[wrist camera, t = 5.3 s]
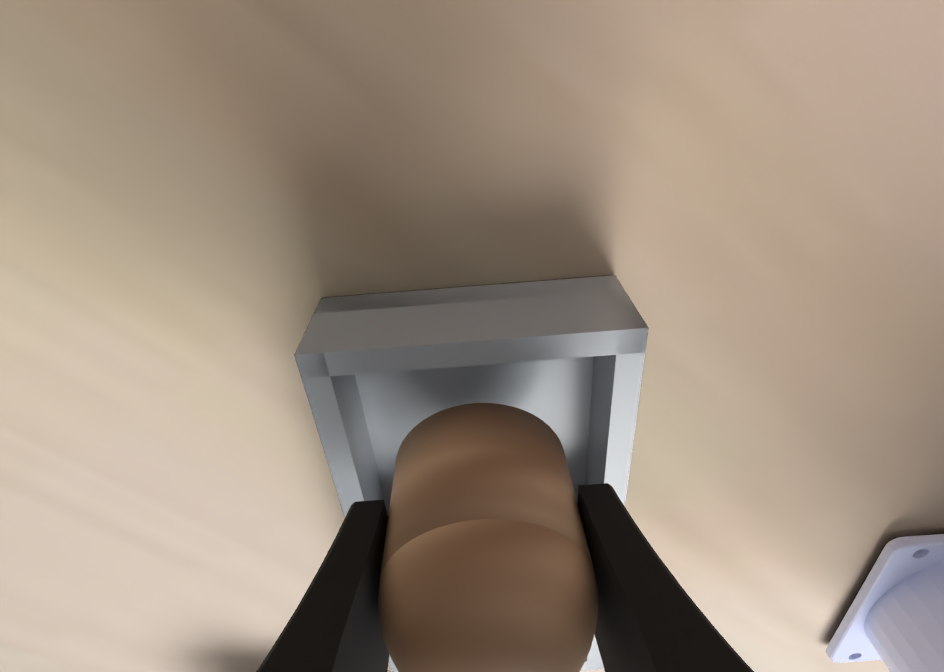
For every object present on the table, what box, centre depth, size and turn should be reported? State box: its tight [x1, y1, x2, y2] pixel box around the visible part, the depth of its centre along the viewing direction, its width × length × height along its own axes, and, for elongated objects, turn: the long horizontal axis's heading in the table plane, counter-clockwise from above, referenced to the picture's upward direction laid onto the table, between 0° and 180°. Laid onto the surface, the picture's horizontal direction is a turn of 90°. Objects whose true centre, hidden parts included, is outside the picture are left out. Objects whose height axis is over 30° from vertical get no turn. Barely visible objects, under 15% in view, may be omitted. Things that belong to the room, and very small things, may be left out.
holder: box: [294, 275, 648, 672], centre depth 15 cm, size 7×14×2 cm, turn 4°
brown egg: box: [378, 403, 598, 672], centre depth 10 cm, size 4×4×5 cm
